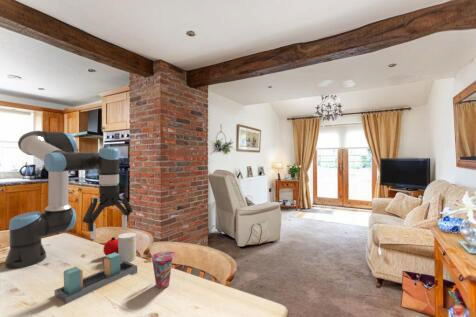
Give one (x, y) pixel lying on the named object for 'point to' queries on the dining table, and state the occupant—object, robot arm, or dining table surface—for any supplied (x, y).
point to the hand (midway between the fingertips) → (109, 233)
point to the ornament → (111, 246)
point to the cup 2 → (162, 268)
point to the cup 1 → (127, 247)
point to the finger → (112, 264)
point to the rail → (96, 282)
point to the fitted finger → (73, 280)
